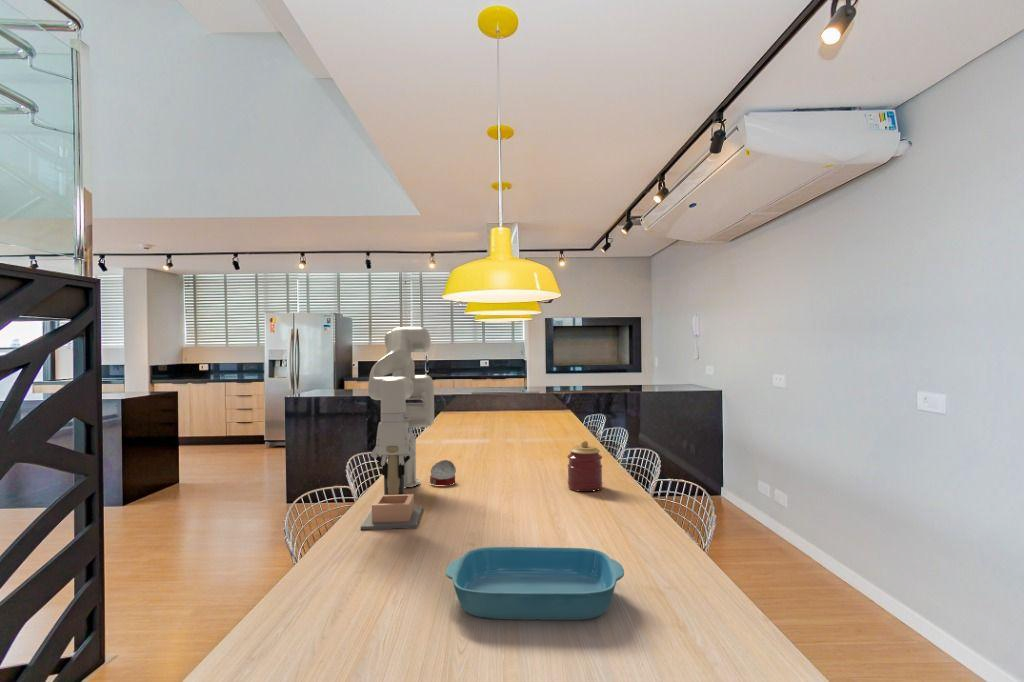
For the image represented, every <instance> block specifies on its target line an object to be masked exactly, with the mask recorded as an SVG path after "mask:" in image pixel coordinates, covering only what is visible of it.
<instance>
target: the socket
mask: <svg viewBox="0 0 1024 682" xmlns="http://www.w3.org/2000/svg"><path fill="white" fill-rule="evenodd" d="M422 510H423V511H424V506H415V494H414V493H408V494H406V493H404V494H403V495H384V494H378V496H377V497H376V498H375V500H374V502H373V503H372V504H371V510H370V512H369V514H368V515H367V517H366V518H365V519H364V521H363V522H362V524H361V526H360V530H361V529H377V530H395V529H394V528H411V529H417V527H418V525H419V522H420V518H421V516H422V514H423V511H422ZM421 513H422V514H421ZM418 521H419V522H418ZM417 524H418V525H417ZM392 528H393V529H392Z"/></svg>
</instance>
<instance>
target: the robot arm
mask: <svg viewBox="0 0 1024 682" xmlns="http://www.w3.org/2000/svg"><path fill="white" fill-rule="evenodd" d="M384 344H385V348H386V353H385V354H386V355H385V356H383V357H382V358H380V359H379V360H378V361H377V362H375V363H374V364H373V366H372V367H371V370H370V373H369V377H368V384H367V393H368V395H369V397H370V399H371V400H375V401H380V421H379V422H378V425H377V430H376V441H375V447H374V448H373V450H372V451H371V453H370V457H372V458H373V459H375V460H376V461H377V462H378V463H379V464H380V465H381V471H382V472H381V475H382V476H383V480H384V479H386V478H387V466H388V456H390V455H399V478H402V477H403V476H404V487H412V488H414V487H413V486H416V485H418V484H419V485H420V484H421V480H420V479H419V478H417V440H416V436H415V434H414V433H413V432H412V431H411V429H413V428H414V429H415V428H428V427H431V426H433V424H434V421H435V387H434V385H435V384H434V381H433V378H432V377H431V376H430V375H427V374H416V373H415V367H416V366H415V361H414V359H413V358H412V353H425V352H428V351H429V350H430V348H431V344H432V343H431V335H430V333H429V330H428V329H427V328H425V327H421V326H417V327H416V326H409V327H408V326H404V327H403V326H400V327H395V328H393V329H391V330H390V331H388V332H386V333H385V335H384ZM390 374H392V376H387V375H390ZM407 400H421V401H422V402H406V401H407ZM386 447H398V451H397V452H395V453H389V452H387V451H386ZM419 485H418V486H419ZM416 487H417V486H416Z"/></svg>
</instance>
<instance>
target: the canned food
mask: <svg viewBox="0 0 1024 682" xmlns="http://www.w3.org/2000/svg"><path fill="white" fill-rule="evenodd" d="M456 473H457V469H456V466H455V465H454V463H453V462H452V461H451V460H448V459H442V460H439V461H437V462H436V463H435V464H434V465H432V467H431V469H430V476H429V484H430V483H431V484H434V485H450V484H453V483H455V484H456Z"/></svg>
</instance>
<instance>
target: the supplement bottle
mask: <svg viewBox="0 0 1024 682" xmlns="http://www.w3.org/2000/svg"><path fill="white" fill-rule="evenodd" d="M398 489H399V493H398V494H396V495H403V494H405V488H404V476H403V477H402V478H400V484H399V488H398ZM388 490H389V489H388V486H387V478H386V479H384V478H383V495H390V494H388Z"/></svg>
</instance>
